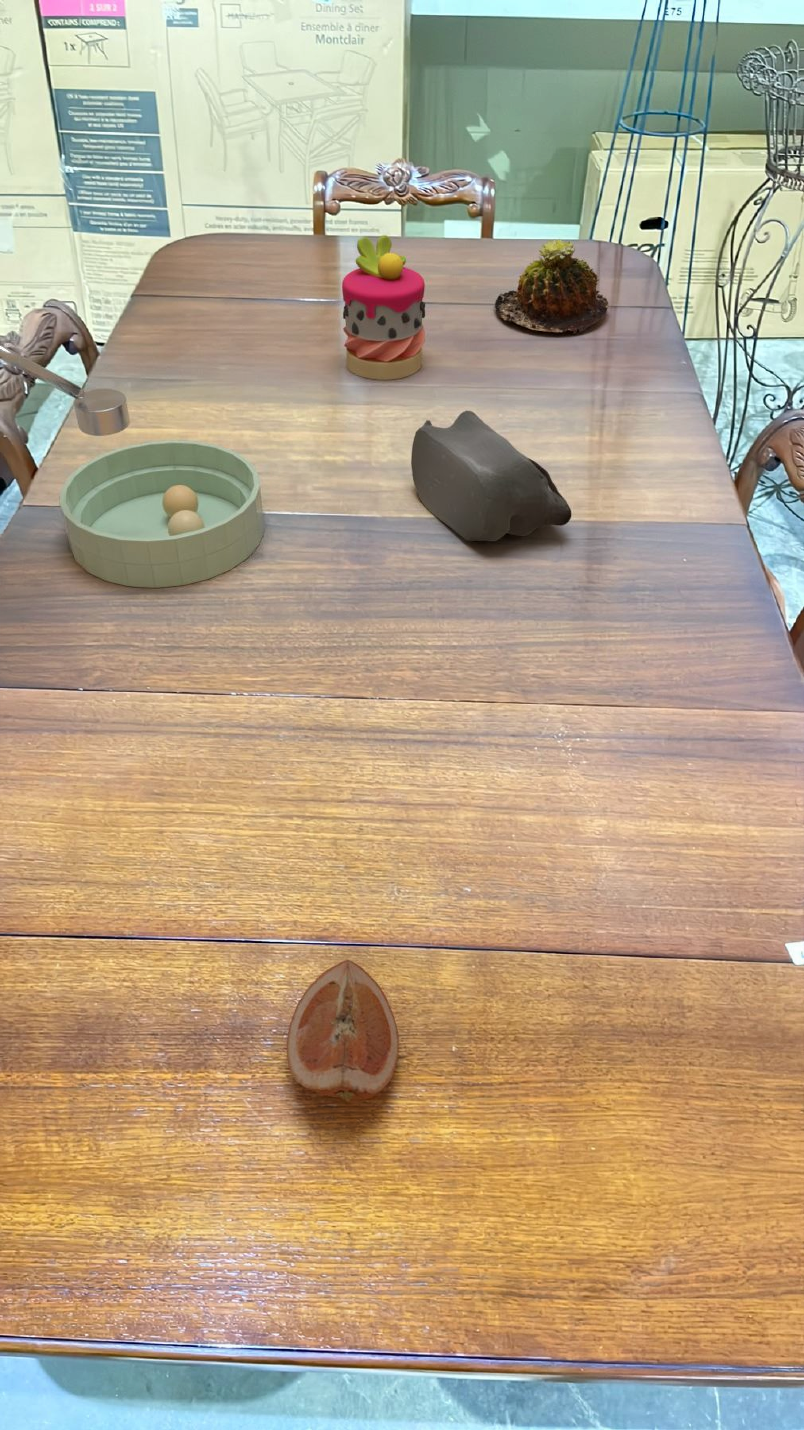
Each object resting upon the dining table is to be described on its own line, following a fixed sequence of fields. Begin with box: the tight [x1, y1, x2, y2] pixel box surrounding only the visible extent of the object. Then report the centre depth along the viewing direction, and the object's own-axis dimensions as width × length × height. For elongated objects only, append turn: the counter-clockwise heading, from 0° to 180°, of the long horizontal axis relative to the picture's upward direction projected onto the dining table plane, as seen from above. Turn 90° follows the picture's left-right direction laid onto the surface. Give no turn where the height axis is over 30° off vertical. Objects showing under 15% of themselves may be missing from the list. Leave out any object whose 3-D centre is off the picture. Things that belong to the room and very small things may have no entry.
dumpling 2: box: [168, 510, 205, 536], centre depth 106 cm, size 4×4×4 cm
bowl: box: [58, 439, 265, 589], centre depth 107 cm, size 19×19×6 cm
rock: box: [410, 410, 572, 542], centre depth 111 cm, size 18×11×8 cm, turn 29°
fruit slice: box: [286, 959, 400, 1102], centre depth 64 cm, size 8×7×5 cm
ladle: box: [0, 344, 131, 437], centre depth 95 cm, size 14×5×10 cm, turn 99°
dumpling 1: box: [162, 485, 199, 518], centre depth 110 cm, size 4×4×4 cm
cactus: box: [494, 238, 610, 335], centre depth 150 cm, size 17×16×10 cm
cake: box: [341, 234, 426, 381], centre depth 136 cm, size 10×11×15 cm
